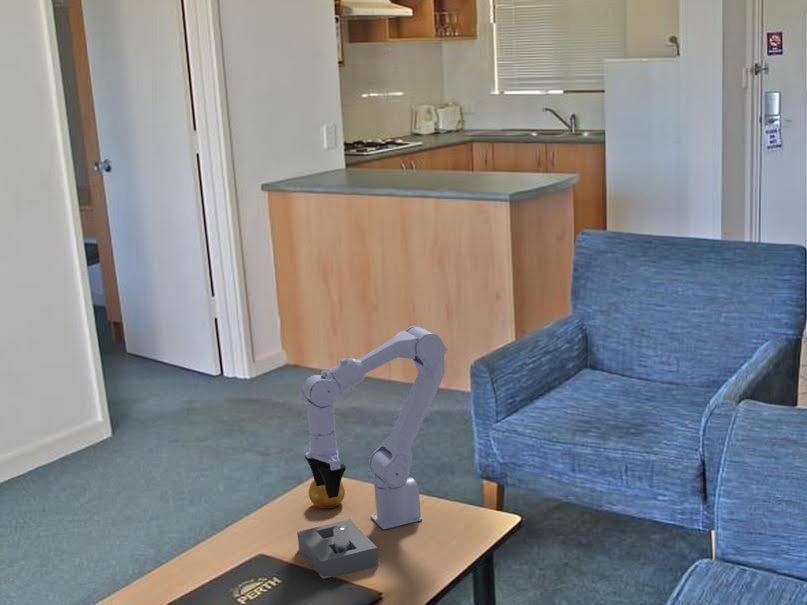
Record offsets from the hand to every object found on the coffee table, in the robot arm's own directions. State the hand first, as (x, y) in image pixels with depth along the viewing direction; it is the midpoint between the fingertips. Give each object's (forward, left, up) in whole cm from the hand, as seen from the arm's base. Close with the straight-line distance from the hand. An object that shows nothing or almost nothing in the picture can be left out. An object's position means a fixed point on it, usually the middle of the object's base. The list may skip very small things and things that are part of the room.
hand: (327, 490), depth 227 cm
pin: (+2, +15, -9) cm, 18 cm away
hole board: (+2, +11, -10) cm, 15 cm away
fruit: (-5, -16, -11) cm, 20 cm away
